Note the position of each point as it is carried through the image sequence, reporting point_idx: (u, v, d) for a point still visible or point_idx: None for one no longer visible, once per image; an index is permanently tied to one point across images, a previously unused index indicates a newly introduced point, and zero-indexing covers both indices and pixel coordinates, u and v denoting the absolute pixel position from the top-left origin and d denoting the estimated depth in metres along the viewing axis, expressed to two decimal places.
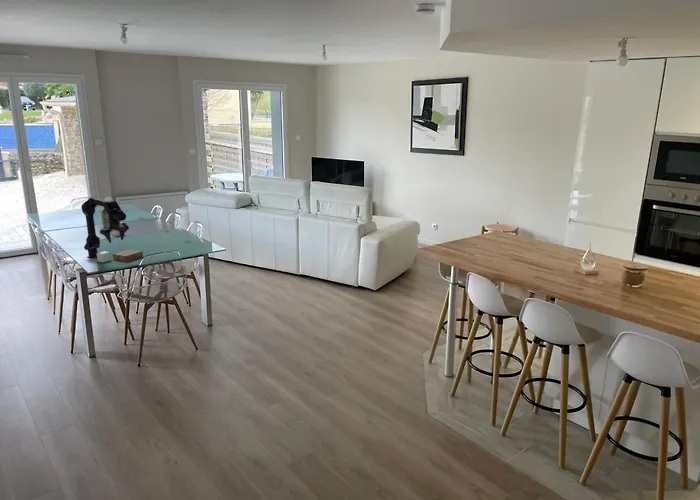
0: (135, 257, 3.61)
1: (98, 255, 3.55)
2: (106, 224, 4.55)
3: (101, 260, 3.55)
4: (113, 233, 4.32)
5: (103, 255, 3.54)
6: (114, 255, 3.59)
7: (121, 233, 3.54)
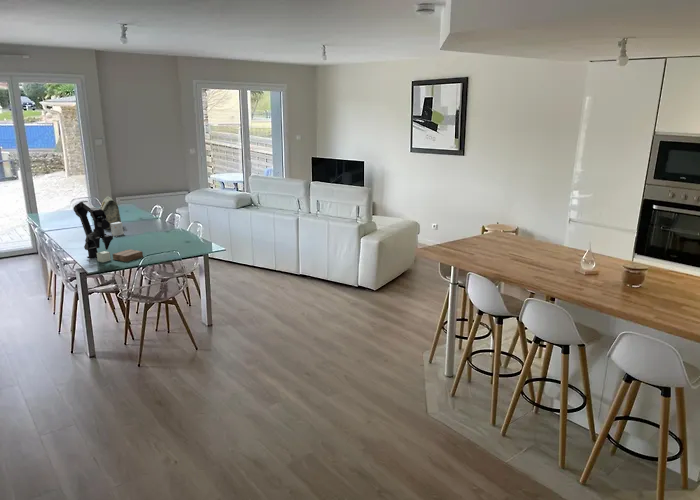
0: (135, 257, 3.61)
1: (98, 255, 3.55)
2: None
3: (101, 260, 3.55)
4: (113, 233, 4.32)
5: (103, 255, 3.54)
6: (114, 255, 3.59)
7: None
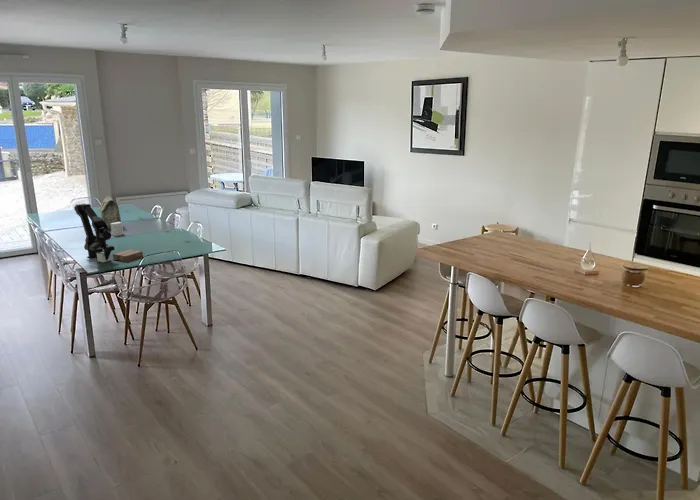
0: (135, 257, 3.61)
1: (98, 255, 3.55)
2: (106, 224, 4.55)
3: (101, 260, 3.55)
4: (113, 233, 4.32)
5: (103, 255, 3.54)
6: (114, 255, 3.59)
7: None
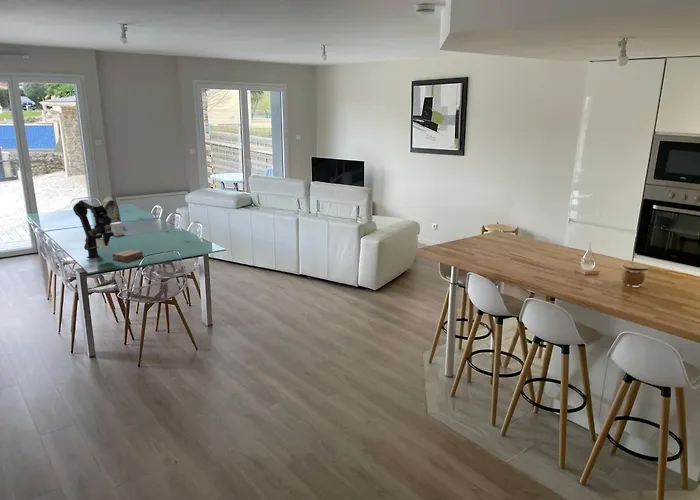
0: (135, 257, 3.61)
1: (97, 241, 3.53)
2: None
3: (100, 246, 3.52)
4: None
5: (102, 241, 3.51)
6: (114, 255, 3.59)
7: None
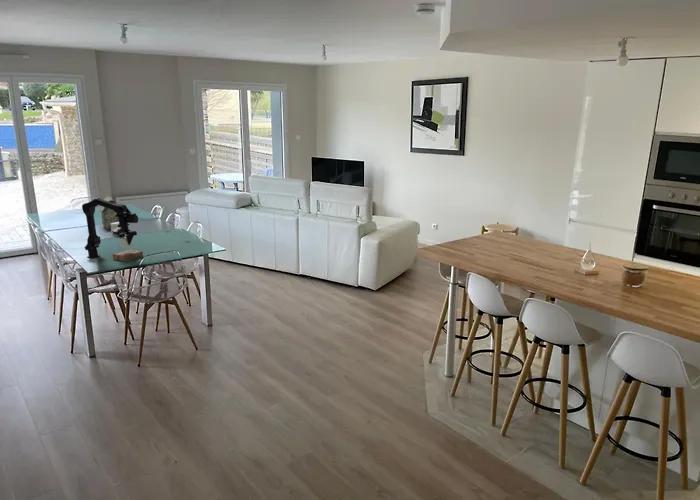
0: (135, 257, 3.61)
1: (120, 240, 3.58)
2: (106, 224, 4.55)
3: (123, 245, 3.58)
4: None
5: (125, 240, 3.57)
6: (114, 255, 3.59)
7: None
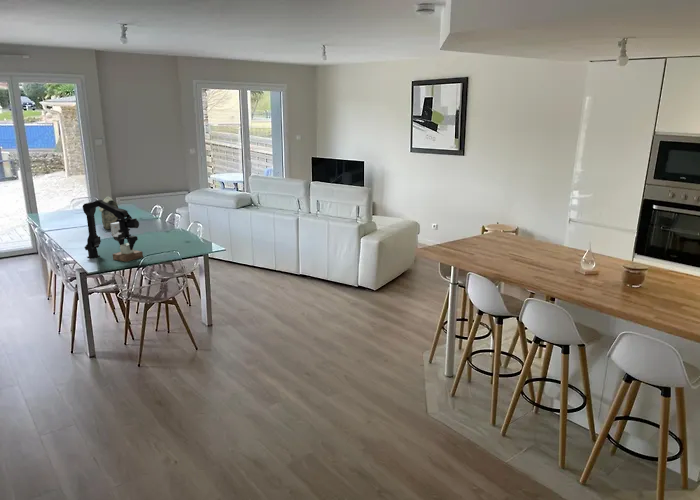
0: (135, 257, 3.61)
1: (121, 247, 3.59)
2: (106, 224, 4.55)
3: (124, 252, 3.59)
4: (113, 233, 4.32)
5: (126, 247, 3.58)
6: (114, 255, 3.59)
7: None
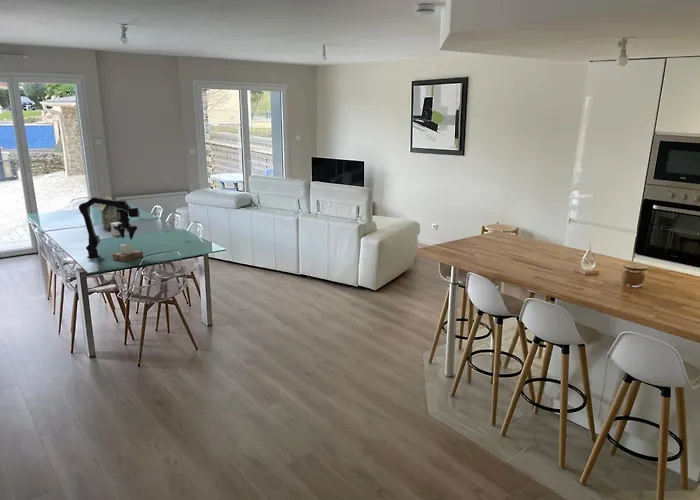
0: (135, 257, 3.61)
1: (121, 247, 3.59)
2: (106, 224, 4.55)
3: (124, 252, 3.59)
4: (113, 233, 4.32)
5: (126, 247, 3.58)
6: (114, 255, 3.59)
7: None
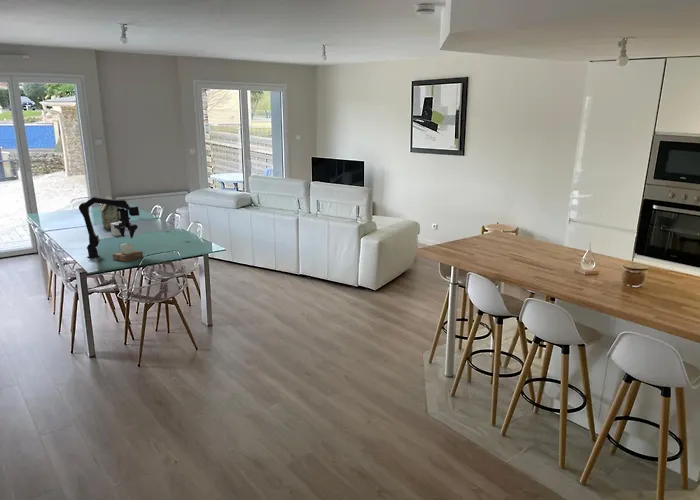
0: (135, 257, 3.61)
1: (121, 247, 3.59)
2: (106, 224, 4.55)
3: (124, 252, 3.59)
4: (113, 233, 4.32)
5: (126, 247, 3.58)
6: (114, 255, 3.59)
7: None
